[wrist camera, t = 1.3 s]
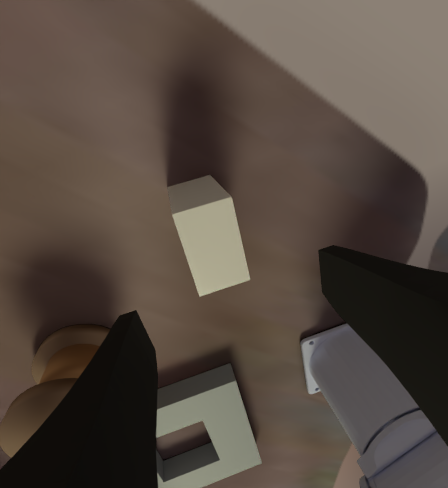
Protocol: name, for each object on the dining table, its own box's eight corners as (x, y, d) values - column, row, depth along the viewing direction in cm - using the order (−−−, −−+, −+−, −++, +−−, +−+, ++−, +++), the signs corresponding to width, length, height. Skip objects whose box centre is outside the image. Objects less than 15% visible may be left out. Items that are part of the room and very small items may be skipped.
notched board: (230, 363, 26) (235, 380, 25) (256, 444, 33) (261, 463, 31) (82, 416, 25) (76, 439, 23) (138, 490, 31) (137, 513, 29)
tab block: (209, 174, 19) (231, 196, 14) (226, 239, 21) (250, 279, 16) (167, 187, 19) (172, 214, 13) (188, 251, 21) (199, 296, 16)
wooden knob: (111, 312, 21) (97, 376, 16) (143, 372, 25) (140, 443, 19) (17, 342, 21) (-30, 420, 15) (63, 400, 24) (36, 482, 19)
